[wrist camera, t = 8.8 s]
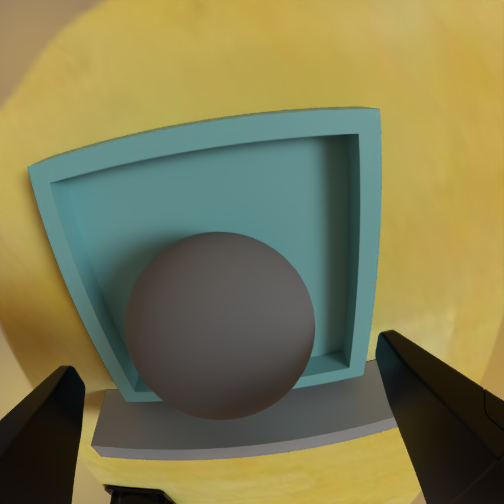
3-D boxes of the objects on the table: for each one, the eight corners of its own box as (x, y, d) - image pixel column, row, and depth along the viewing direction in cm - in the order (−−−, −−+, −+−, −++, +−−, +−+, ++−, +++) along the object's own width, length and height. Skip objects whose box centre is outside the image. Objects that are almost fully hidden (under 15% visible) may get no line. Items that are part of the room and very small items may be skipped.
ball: (166, 341, 14) (149, 456, 9) (128, 219, 11) (63, 319, 6) (298, 325, 14) (331, 438, 9) (290, 194, 12) (345, 284, 6)
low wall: (114, 402, 17) (101, 456, 13) (106, 389, 16) (90, 445, 13) (412, 363, 17) (439, 412, 13) (416, 349, 16) (445, 399, 13)
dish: (131, 379, 16) (126, 401, 14) (48, 157, 10) (27, 166, 9) (354, 353, 16) (363, 375, 15) (361, 106, 11) (379, 109, 9)
